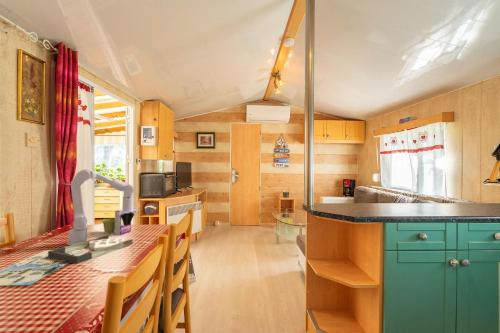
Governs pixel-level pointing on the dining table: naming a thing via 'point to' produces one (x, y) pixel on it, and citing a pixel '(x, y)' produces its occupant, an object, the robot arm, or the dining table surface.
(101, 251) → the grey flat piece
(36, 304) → the dining table surface
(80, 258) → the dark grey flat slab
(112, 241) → the white brass knuckles
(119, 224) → the candy bar box
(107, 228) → the plant pot
